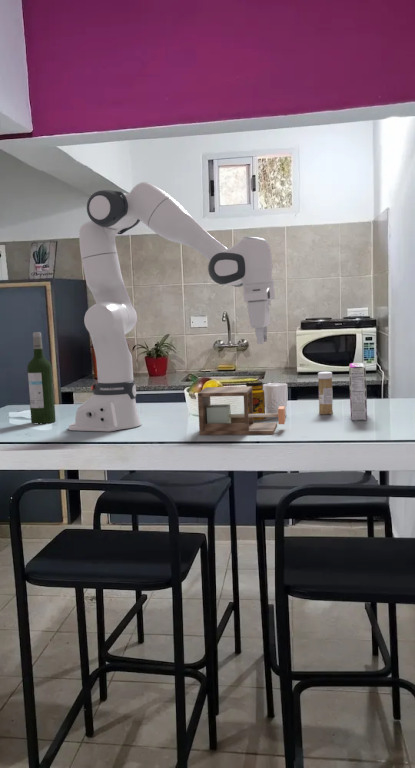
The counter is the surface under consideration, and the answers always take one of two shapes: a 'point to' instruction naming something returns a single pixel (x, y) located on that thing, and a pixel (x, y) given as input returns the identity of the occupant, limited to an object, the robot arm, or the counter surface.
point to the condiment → (257, 399)
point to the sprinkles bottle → (325, 392)
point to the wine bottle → (40, 385)
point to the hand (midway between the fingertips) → (262, 342)
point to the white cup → (275, 397)
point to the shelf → (237, 424)
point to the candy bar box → (358, 391)
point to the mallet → (223, 414)
